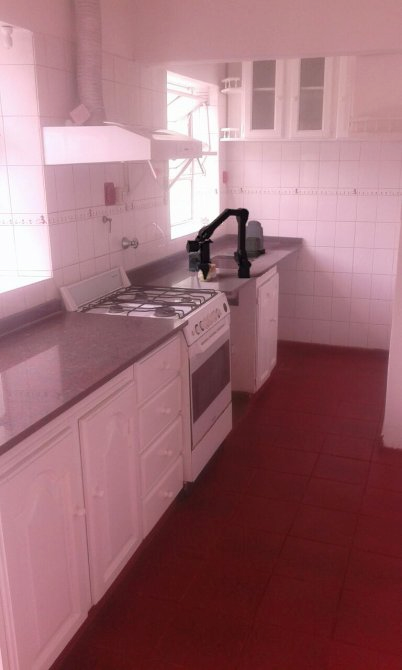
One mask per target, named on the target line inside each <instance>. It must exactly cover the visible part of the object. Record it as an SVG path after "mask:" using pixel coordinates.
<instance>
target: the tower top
mask: <svg viewBox="0 0 402 670" xmlns="http://www.w3.org/2000/svg"><path fill="white" fill-rule="evenodd" d="M209 264H210V263H209ZM210 265H211V267H210V270H209V272H215V270H217V265H216V263H212V264H210ZM200 272H202V271H201V270H200Z"/></svg>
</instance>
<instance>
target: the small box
mask: <svg viewBox="0 0 402 670" xmlns="http://www.w3.org/2000/svg"><path fill="white" fill-rule="evenodd" d="M199 254H200V251H198V252H192V253H189V254H188V272H197V273H198V272H199V271H200V269H198V265H199V264H200V263H199V262H198V263H195V264H193V265H192V264H191V262H190V259H191V258H192V257H196V256H199Z"/></svg>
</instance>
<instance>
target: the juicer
mask: <svg viewBox="0 0 402 670" xmlns="http://www.w3.org/2000/svg"><path fill="white" fill-rule="evenodd" d="M264 239H265V238H264V228H263V227H262V223H261V222H259V220H255V219H254V220H249V221H247V225H246V246H245V249H246V252H247V256H248V259H258V258H259V257H261V255H262V256H263V255H265V254H266V248H264Z"/></svg>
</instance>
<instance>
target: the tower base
mask: <svg viewBox="0 0 402 670" xmlns="http://www.w3.org/2000/svg"><path fill="white" fill-rule="evenodd" d="M197 273H198V275H197V276H198V277H197V278H199V279H200V273H202V272H200V271H197ZM209 273H211V278H212V279H214V278H215V279H216V277H217V274H218V273H217V269H216V270H215V272H209Z"/></svg>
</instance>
